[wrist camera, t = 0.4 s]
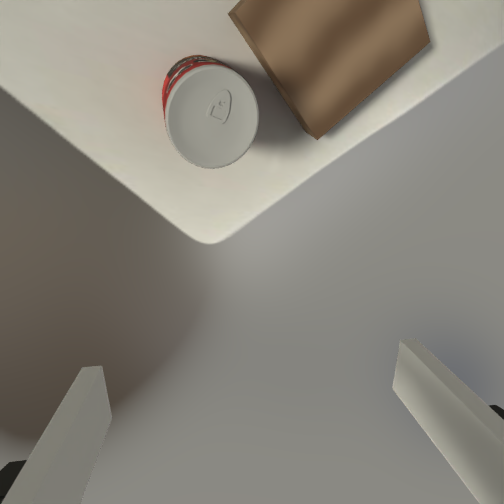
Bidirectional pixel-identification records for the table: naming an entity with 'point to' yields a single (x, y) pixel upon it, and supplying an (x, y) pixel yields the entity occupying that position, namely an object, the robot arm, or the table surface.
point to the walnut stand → (330, 50)
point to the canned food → (209, 112)
